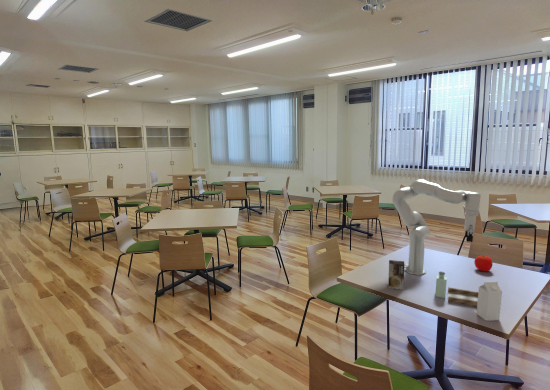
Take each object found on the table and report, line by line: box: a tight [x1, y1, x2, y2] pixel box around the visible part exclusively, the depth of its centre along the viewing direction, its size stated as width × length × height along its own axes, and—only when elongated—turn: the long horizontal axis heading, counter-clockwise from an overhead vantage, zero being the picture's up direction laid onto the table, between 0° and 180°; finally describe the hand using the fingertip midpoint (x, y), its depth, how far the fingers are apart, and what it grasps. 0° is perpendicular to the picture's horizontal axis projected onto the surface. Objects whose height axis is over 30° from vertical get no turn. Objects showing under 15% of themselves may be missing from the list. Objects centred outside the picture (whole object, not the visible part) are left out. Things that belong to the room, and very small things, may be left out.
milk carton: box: [476, 281, 503, 322], centre depth 169 cm, size 7×7×19 cm
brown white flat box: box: [447, 286, 478, 308], centre depth 189 cm, size 20×14×4 cm
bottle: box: [434, 271, 448, 299], centre depth 194 cm, size 5×5×14 cm
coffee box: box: [387, 259, 406, 291], centre depth 206 cm, size 9×6×16 cm
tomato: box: [474, 254, 493, 272], centre depth 232 cm, size 10×11×11 cm
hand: (468, 239), depth 206 cm, fingers open, 9 cm apart
